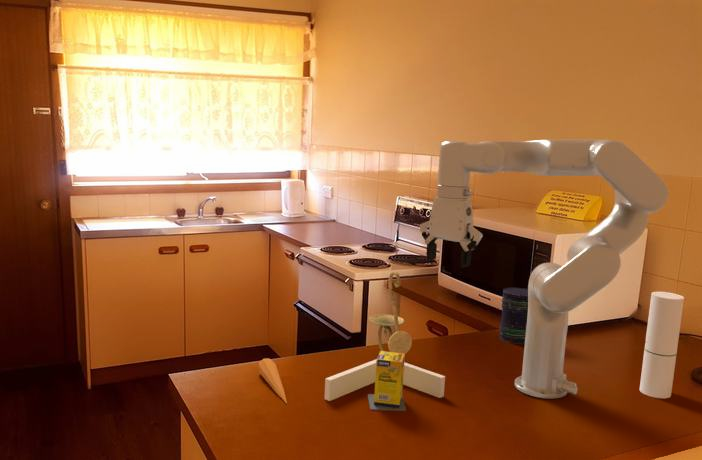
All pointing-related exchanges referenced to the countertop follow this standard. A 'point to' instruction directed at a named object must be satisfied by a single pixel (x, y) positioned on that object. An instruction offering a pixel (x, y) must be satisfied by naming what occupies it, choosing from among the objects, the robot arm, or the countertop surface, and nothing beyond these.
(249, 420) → the countertop surface
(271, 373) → the carrot
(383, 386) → the supplement box
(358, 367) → the white angled corner barrier
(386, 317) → the wall sconce
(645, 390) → the cylindrical container
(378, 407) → the mat
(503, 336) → the storage jar
